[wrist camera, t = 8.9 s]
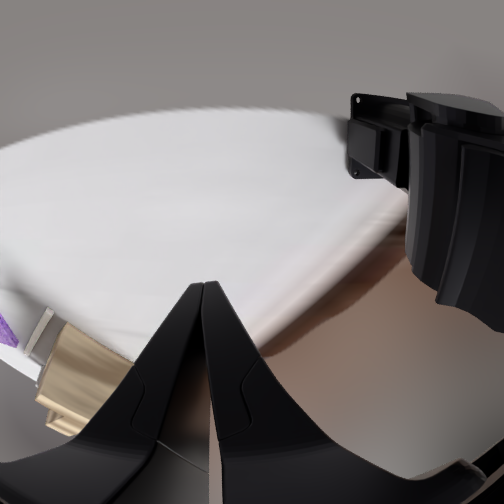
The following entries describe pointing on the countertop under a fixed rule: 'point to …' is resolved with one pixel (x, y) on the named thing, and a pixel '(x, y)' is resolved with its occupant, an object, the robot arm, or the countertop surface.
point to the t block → (78, 380)
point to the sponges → (7, 334)
